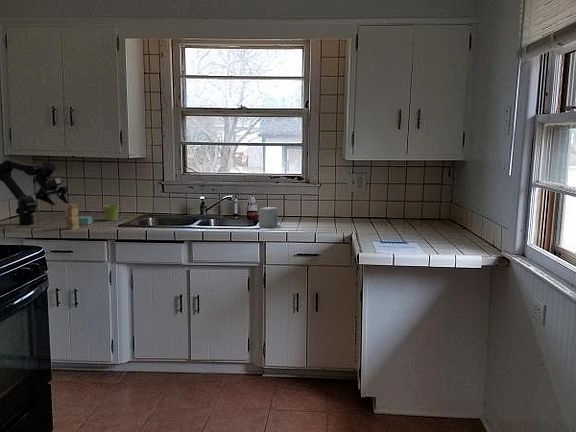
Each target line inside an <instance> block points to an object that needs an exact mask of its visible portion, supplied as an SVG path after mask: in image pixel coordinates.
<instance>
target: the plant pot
mask: <svg viewBox="0 0 576 432" xmlns="http://www.w3.org/2000/svg"><path fill="white" fill-rule="evenodd" d="M119 207H120V205H118V204H108V205H107V204H106V205H102V208H103V211H104V215H105V221H107V222H109V221H110V222H112V221H115V220H116V221H118V214H119V213H118V212H119Z"/></svg>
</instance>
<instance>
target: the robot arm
mask: <svg viewBox="0 0 576 432" xmlns="http://www.w3.org/2000/svg"><path fill="white" fill-rule="evenodd" d="M14 169H15V170H18V171H21V172H24V174H25V175H28V176H30V177H32V183H36V184H38V185H39V189H38V191H37V192H36V193H35V198H36V199H37V200H40V201H42V202H45V203H48V204H50V205H51V206H56V203H55V202H54V199H53V198H52V197H51V196H52V195H56V196H57V197H58V199H59V200H61V201H62V202H64V203H65V205H67V204H69V200H68V197H67V193H68V191H69V188H68V187H67V186H60V185H62V184H63V182H64V181H63V179H62V178H61V177H57V178H53V179H51V180H50V179H49V178H50V177H51V176H52V175H53V174H54V172H55V171H56V170H57V168H56V166H55V165H54V164H53V163H50V162H49V161H44V162H43V164H42V166H41V165H40V164H28V163H24V162H20V161H17V160H14V159H6V160H4V161H3V162H2V163H0V181H1V182H2V183H4V185H5V186H6V187H7V188H8V190H9V191H10V193H11V194H12V195H13V196H14V197H15V199H16V200H17V208H16V209H15V213H16V215H18V217H19V218H18V220H19V223H17V224H18V225H19V226H21V225H22V226H23V225H24V226H25V225H26V226H29V225H32V224H33V223H34V224H36V223H35V219H34V218H35V217H34V215H33V214H34V213H35V212H36V209H37V202H36V200H35V199H34V198H33V196H32V195H26V194H25V192H24V191H23V190H22V189H21V187H20V186H19V185H18V184H17V183H16V181H15V180H14V178H13V177H12V176H13V175H12V172H13V170H14ZM33 176H34V177H33ZM59 186H60V187H59Z"/></svg>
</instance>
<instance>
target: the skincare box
mask: <svg viewBox="0 0 576 432" xmlns="http://www.w3.org/2000/svg"><path fill="white" fill-rule="evenodd" d="M258 210H259V212H258V214H259V217H258V227H259V226H261V228H267V227H268V228H272V227H276V226H275V225H277V226H278V221H279V220H278V219H279V218H278V217H279V214H278V212H279V208H278V207H273V206H267V207H260V208H259V209H258ZM271 226H272V227H271Z"/></svg>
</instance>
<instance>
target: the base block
mask: <svg viewBox="0 0 576 432" xmlns="http://www.w3.org/2000/svg"><path fill="white" fill-rule="evenodd" d="M78 221H79V226H89V225H91V224H93V216H89V215H88V216H78Z"/></svg>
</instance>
